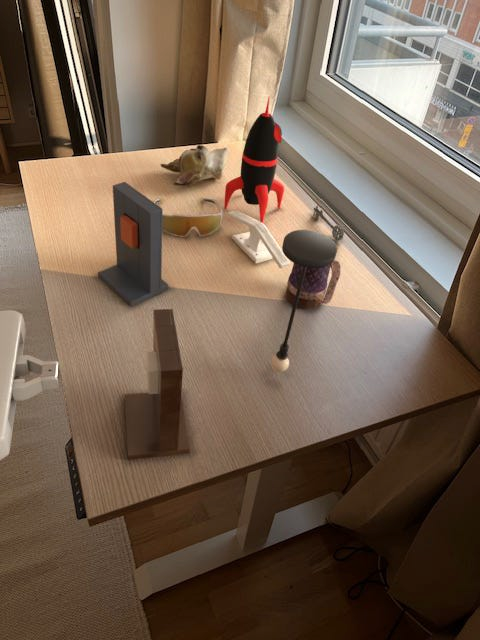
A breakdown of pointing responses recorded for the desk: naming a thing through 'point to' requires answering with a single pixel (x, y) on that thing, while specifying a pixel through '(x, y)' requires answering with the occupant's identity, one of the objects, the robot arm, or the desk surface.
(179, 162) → the ceramic sculpture
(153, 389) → the switch near
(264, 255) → the t-shaped cleat
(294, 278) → the mug
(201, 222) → the sunglasses
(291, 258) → the light fixture
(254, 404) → the desk surface
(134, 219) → the panel far
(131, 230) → the switch far
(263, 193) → the toy rocket
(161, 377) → the panel near
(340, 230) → the key
